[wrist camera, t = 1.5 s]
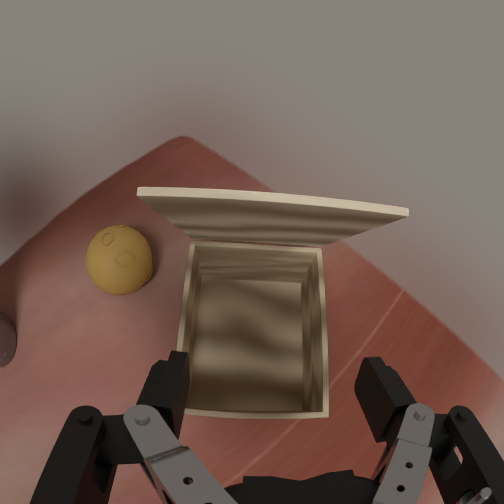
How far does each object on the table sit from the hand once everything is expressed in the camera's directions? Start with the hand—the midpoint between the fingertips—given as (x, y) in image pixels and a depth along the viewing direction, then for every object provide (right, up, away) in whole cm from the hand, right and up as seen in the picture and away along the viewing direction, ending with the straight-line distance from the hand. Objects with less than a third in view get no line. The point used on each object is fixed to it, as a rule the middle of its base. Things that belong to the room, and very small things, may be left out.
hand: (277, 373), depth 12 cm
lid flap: (0, +7, +13) cm, 15 cm away
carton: (-2, -7, +27) cm, 28 cm away
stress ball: (-20, +2, +31) cm, 37 cm away
